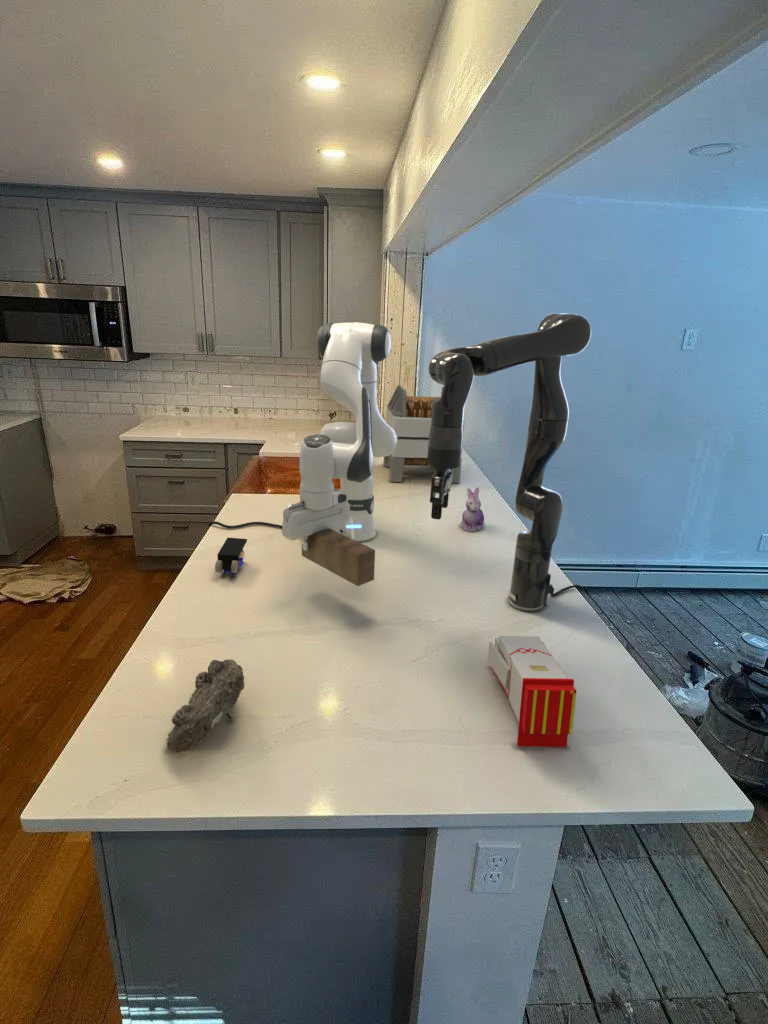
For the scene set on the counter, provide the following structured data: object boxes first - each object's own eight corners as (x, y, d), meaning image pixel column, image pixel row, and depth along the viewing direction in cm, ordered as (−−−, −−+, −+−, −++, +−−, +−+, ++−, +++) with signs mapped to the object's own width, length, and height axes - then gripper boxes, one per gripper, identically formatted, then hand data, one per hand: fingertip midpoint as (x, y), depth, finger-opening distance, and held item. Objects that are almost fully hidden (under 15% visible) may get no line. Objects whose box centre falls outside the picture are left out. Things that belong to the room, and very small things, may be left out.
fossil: (192, 660, 117) (244, 628, 112) (224, 691, 120) (276, 661, 115) (142, 746, 98) (202, 712, 93) (182, 779, 101) (242, 748, 96)
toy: (536, 619, 129) (586, 686, 99) (531, 673, 131) (578, 754, 102) (483, 618, 128) (517, 685, 99) (479, 672, 131) (511, 753, 102)
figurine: (470, 533, 202) (474, 493, 197) (453, 524, 211) (457, 485, 206) (491, 530, 207) (495, 491, 202) (474, 520, 215) (478, 483, 210)
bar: (301, 555, 154) (301, 527, 151) (317, 550, 158) (317, 522, 155) (357, 586, 139) (358, 555, 136) (374, 579, 143) (375, 549, 140)
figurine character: (238, 584, 162) (249, 557, 175) (236, 562, 158) (247, 536, 172) (215, 584, 161) (227, 556, 175) (212, 561, 158) (225, 535, 171)
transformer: (382, 463, 289) (386, 382, 275) (445, 464, 293) (451, 384, 279) (390, 482, 257) (394, 392, 243) (460, 483, 261) (468, 394, 247)
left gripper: (290, 510, 139) (291, 560, 144) (353, 493, 153) (352, 540, 157) (276, 503, 143) (277, 552, 148) (338, 487, 157) (338, 533, 162)
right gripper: (456, 453, 119) (450, 525, 125) (466, 440, 132) (460, 505, 138) (421, 449, 121) (417, 520, 127) (434, 436, 134) (429, 501, 140)
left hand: (316, 546), depth 153 cm, fingers closed on bar, 5 cm apart
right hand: (439, 512), depth 132 cm, fingers open, 8 cm apart
